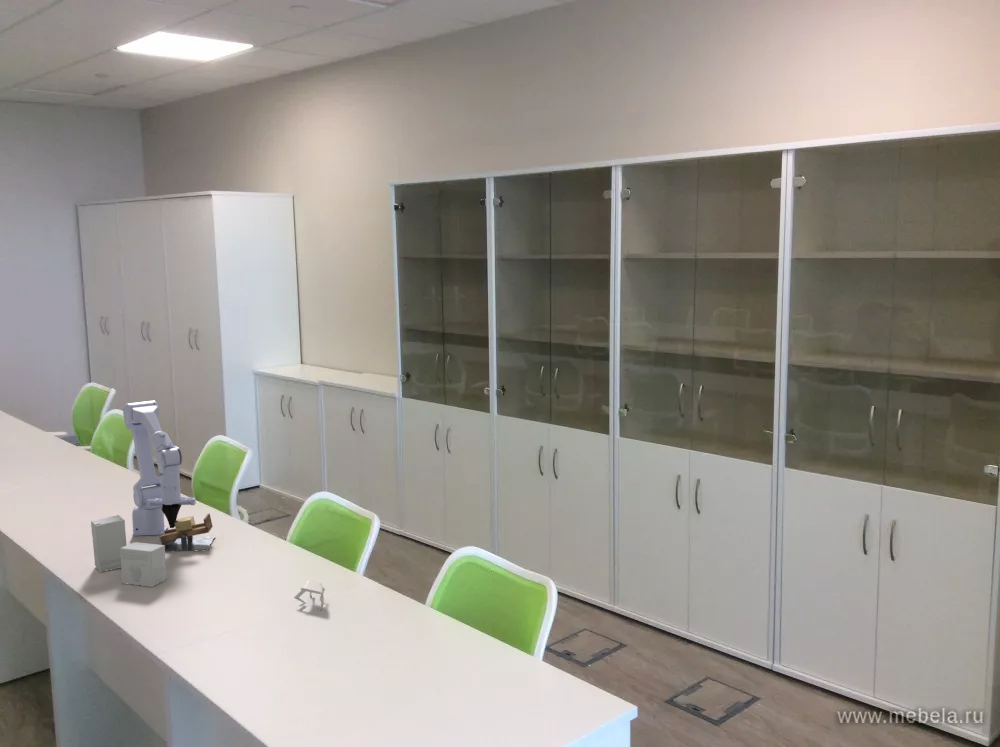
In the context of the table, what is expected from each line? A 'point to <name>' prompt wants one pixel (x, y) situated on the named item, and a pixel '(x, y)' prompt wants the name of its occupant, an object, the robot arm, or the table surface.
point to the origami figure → (312, 591)
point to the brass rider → (185, 524)
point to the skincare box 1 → (108, 542)
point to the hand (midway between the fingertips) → (172, 527)
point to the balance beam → (200, 528)
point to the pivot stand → (189, 544)
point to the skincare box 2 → (143, 564)
